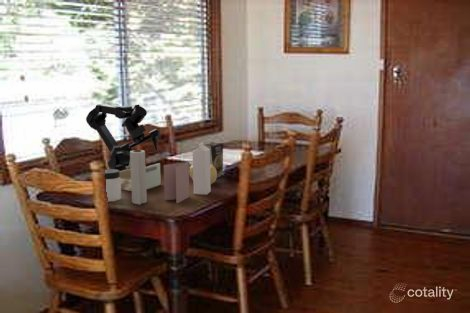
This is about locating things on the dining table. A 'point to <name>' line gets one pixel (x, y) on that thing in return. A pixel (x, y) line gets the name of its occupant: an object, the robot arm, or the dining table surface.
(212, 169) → the sculpture
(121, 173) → the beige shallow tray
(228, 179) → the dining table surface
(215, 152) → the coffee box
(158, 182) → the pale grey-green rectangular panel
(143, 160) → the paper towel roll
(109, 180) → the jar
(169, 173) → the greeting card
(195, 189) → the milk
